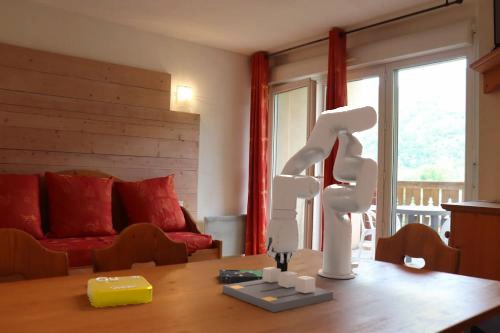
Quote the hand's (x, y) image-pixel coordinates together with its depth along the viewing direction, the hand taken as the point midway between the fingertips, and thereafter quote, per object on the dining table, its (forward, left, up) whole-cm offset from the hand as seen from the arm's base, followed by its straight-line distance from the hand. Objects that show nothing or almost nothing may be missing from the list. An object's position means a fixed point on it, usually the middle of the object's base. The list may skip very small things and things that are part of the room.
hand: (281, 275), depth 135 cm
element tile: (+46, -14, -4) cm, 48 cm away
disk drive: (+4, -14, -4) cm, 15 cm away
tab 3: (+4, +14, -1) cm, 15 cm away
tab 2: (+4, +7, -1) cm, 8 cm away
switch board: (+8, +7, -4) cm, 11 cm away
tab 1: (+4, 0, -1) cm, 4 cm away
